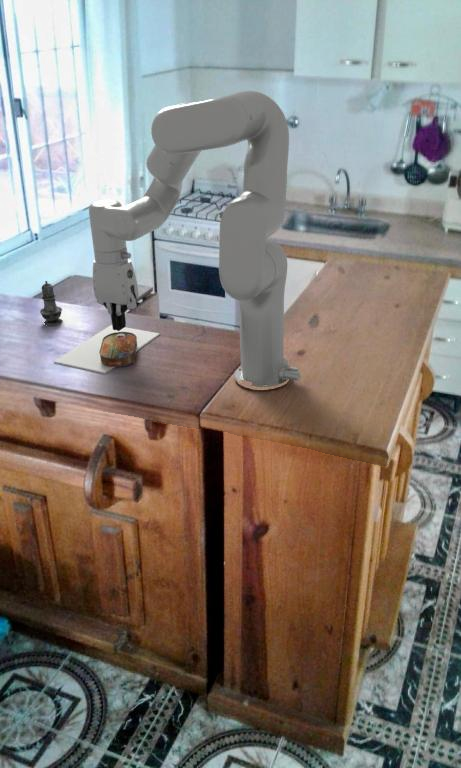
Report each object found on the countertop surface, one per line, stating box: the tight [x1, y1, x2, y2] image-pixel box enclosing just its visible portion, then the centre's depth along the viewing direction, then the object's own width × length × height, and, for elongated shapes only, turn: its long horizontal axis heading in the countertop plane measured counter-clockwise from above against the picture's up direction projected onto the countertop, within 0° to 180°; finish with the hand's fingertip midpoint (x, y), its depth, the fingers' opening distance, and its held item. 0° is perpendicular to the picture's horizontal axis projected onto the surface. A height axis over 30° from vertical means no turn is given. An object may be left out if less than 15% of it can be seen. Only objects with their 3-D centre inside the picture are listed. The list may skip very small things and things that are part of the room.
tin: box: [99, 332, 137, 367], centre depth 172 cm, size 15×3×8 cm
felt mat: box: [53, 324, 160, 374], centre depth 177 cm, size 15×24×1 cm, turn 154°
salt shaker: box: [39, 280, 64, 327], centre depth 190 cm, size 6×6×12 cm
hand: (119, 328), depth 172 cm, fingers closed
